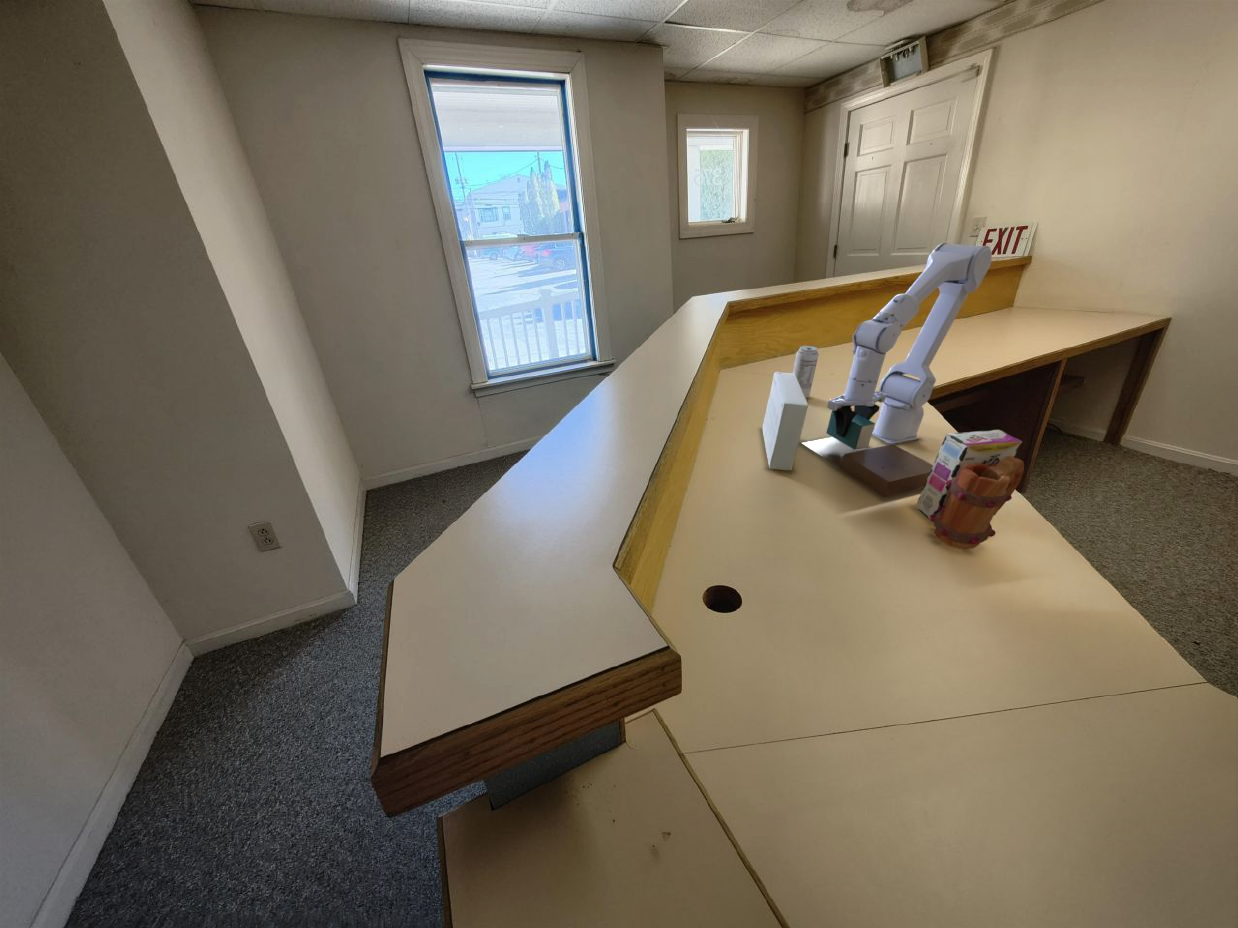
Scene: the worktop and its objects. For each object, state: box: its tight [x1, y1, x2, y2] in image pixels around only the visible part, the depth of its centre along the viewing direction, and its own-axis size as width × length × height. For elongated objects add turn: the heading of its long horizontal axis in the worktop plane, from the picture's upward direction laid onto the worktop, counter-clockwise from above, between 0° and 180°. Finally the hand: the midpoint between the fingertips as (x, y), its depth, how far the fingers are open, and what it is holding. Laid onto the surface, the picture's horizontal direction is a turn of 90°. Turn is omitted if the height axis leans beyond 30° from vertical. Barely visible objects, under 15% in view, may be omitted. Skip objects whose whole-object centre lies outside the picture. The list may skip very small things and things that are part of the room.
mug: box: [930, 456, 1025, 551], centre depth 77 cm, size 15×8×15 cm, turn 114°
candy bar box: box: [914, 429, 1023, 522], centre depth 83 cm, size 11×5×16 cm, turn 100°
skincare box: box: [761, 371, 809, 471], centre depth 105 cm, size 21×6×16 cm, turn 168°
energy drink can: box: [792, 345, 820, 400], centre depth 134 cm, size 6×6×15 cm
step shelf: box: [801, 436, 934, 498], centre depth 102 cm, size 14×25×4 cm, turn 19°
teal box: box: [826, 410, 876, 450], centre depth 105 cm, size 4×9×6 cm, turn 19°
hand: (848, 433), depth 106 cm, fingers closed on teal box, 4 cm apart
